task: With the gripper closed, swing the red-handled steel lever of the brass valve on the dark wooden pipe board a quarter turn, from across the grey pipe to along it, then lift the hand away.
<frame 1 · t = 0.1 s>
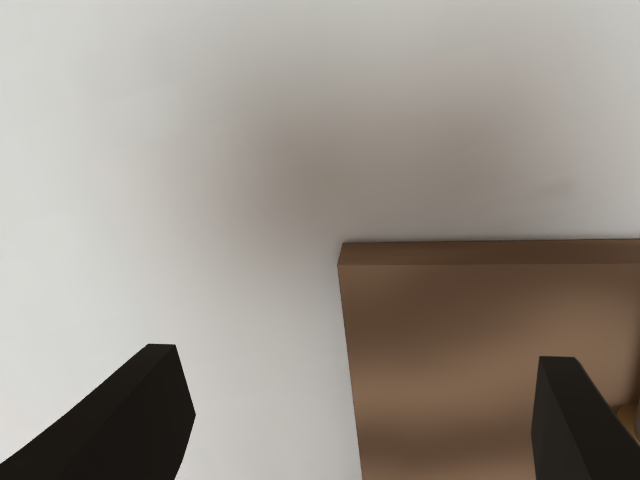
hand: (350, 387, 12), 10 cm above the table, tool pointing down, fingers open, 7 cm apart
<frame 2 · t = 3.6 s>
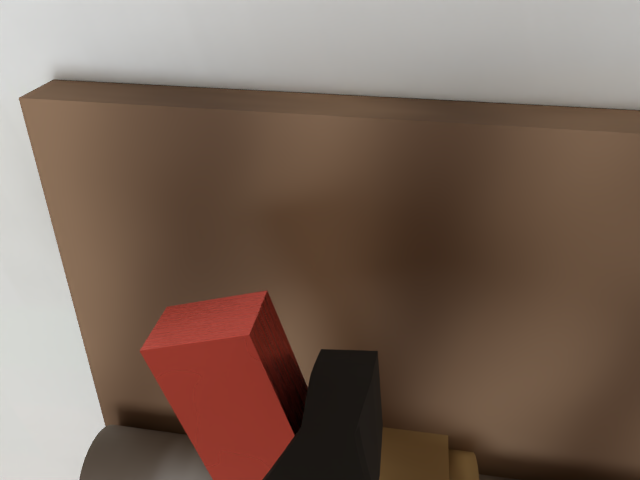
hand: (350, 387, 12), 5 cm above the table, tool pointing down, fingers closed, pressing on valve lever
valve board: (379, 433, 20), on the table
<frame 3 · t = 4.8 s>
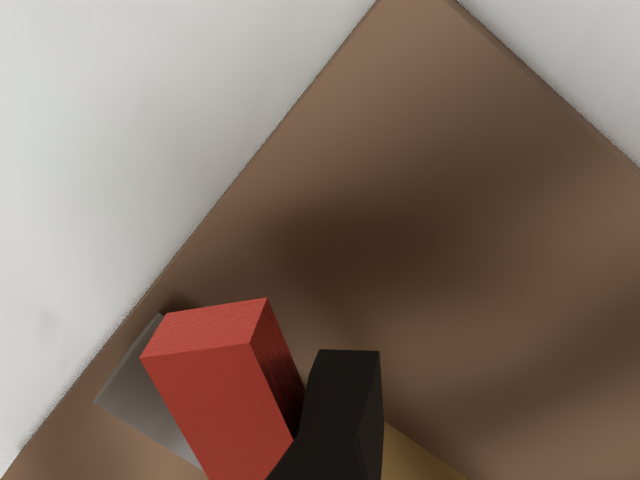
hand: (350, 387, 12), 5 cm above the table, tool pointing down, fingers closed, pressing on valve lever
valve board: (378, 435, 20), on the table
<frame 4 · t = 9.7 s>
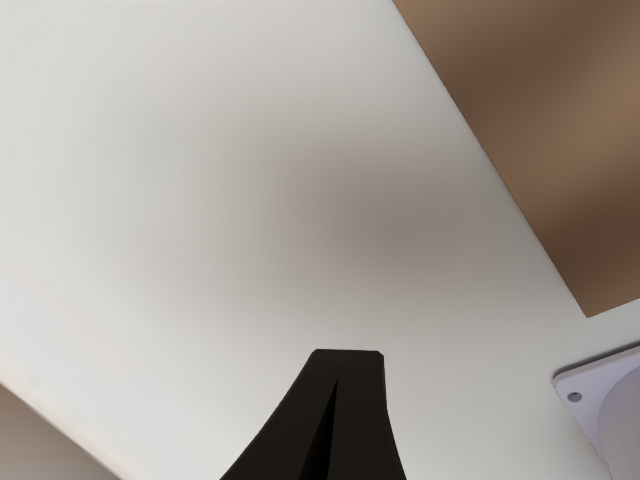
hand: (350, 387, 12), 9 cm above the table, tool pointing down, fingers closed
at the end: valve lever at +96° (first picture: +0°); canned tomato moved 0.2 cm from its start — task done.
